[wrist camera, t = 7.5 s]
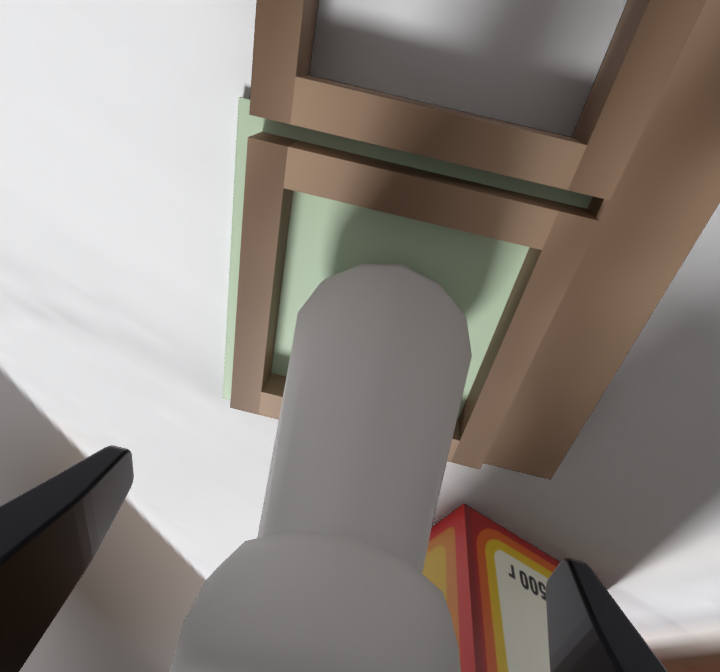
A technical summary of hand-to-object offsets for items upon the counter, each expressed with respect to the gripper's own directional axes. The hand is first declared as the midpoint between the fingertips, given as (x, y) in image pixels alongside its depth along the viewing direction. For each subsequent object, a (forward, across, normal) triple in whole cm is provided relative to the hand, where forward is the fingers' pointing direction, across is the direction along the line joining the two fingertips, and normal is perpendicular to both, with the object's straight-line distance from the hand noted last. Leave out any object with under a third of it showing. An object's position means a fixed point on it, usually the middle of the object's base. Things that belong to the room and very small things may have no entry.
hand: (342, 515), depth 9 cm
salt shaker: (+9, 0, 0) cm, 9 cm away
